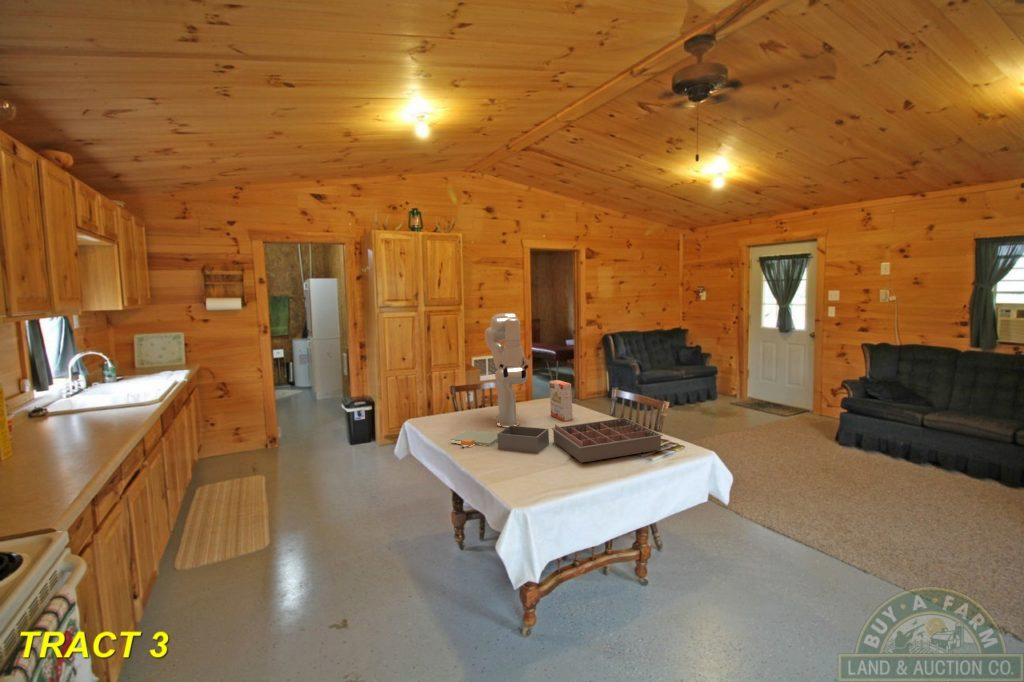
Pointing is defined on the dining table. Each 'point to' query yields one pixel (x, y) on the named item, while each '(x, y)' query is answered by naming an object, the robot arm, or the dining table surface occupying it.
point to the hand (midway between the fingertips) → (514, 377)
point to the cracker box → (561, 400)
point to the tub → (523, 439)
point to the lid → (476, 438)
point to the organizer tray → (606, 439)
